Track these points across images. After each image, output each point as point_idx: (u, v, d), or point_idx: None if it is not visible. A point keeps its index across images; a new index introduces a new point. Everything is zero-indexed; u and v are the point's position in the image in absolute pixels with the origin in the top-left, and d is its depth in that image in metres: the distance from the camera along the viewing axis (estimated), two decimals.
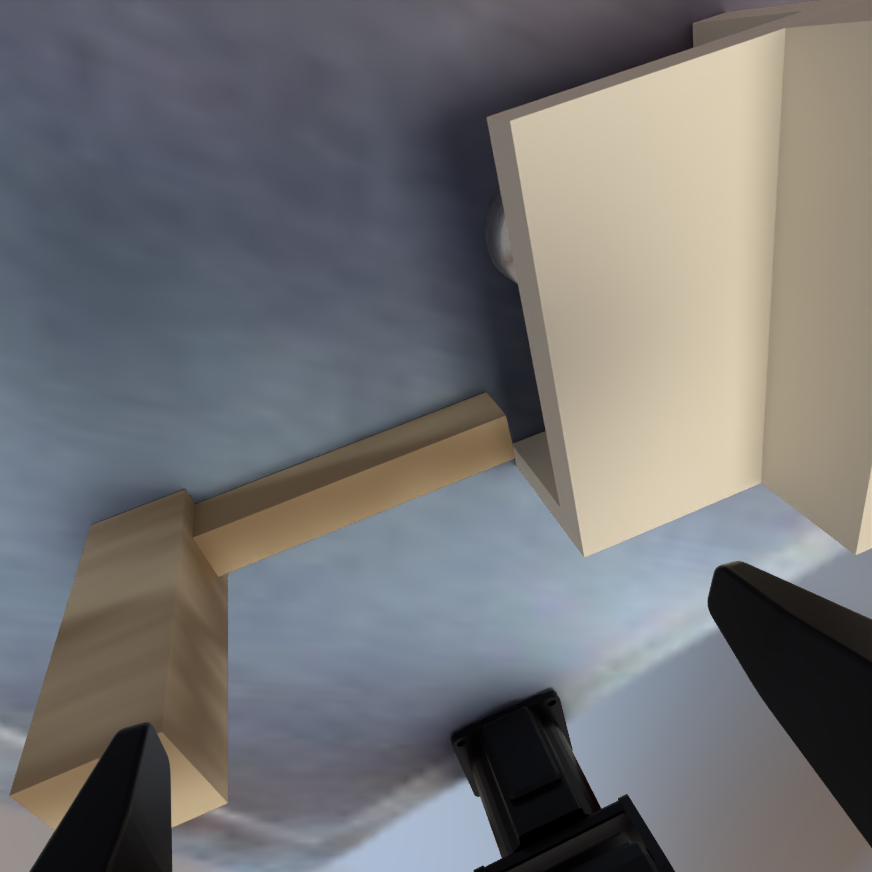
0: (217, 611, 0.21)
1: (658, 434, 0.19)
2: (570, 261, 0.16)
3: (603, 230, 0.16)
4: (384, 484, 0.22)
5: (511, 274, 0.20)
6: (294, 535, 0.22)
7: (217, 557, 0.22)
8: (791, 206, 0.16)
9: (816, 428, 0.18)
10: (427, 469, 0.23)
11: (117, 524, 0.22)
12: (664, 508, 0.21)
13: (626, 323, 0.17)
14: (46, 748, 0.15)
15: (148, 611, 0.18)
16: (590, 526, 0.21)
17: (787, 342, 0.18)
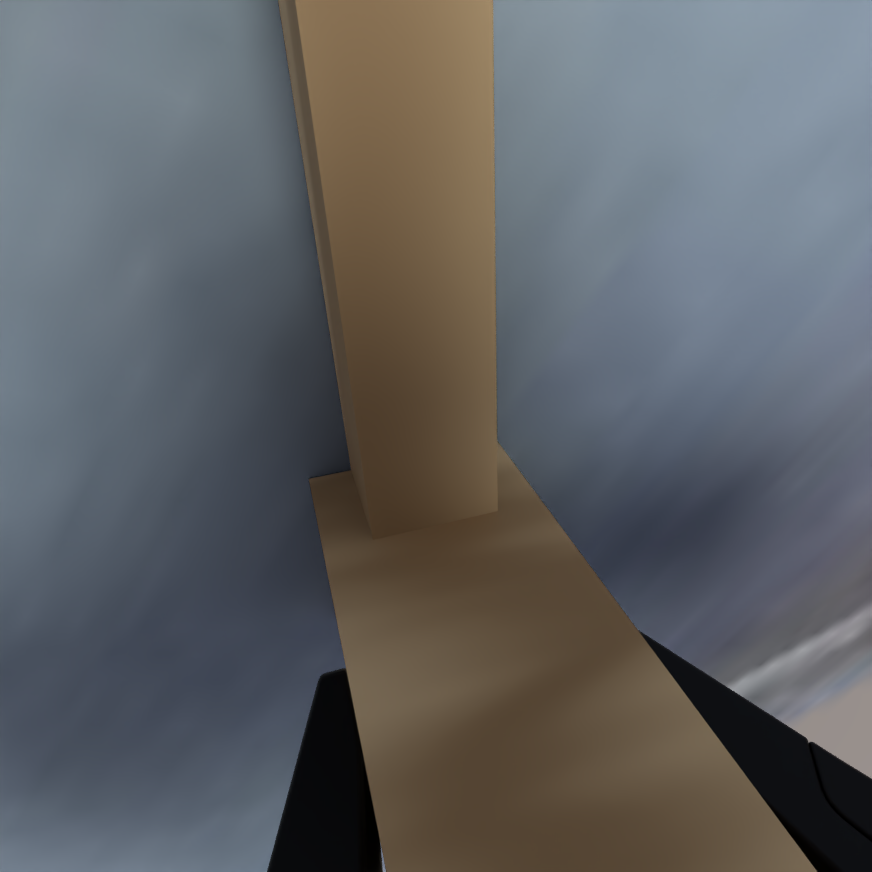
0: (543, 589, 0.08)
1: None
2: None
3: None
4: None
5: None
6: (462, 331, 0.08)
7: (446, 505, 0.09)
8: None
9: None
10: None
11: None
12: None
13: None
14: None
15: None
16: None
17: None
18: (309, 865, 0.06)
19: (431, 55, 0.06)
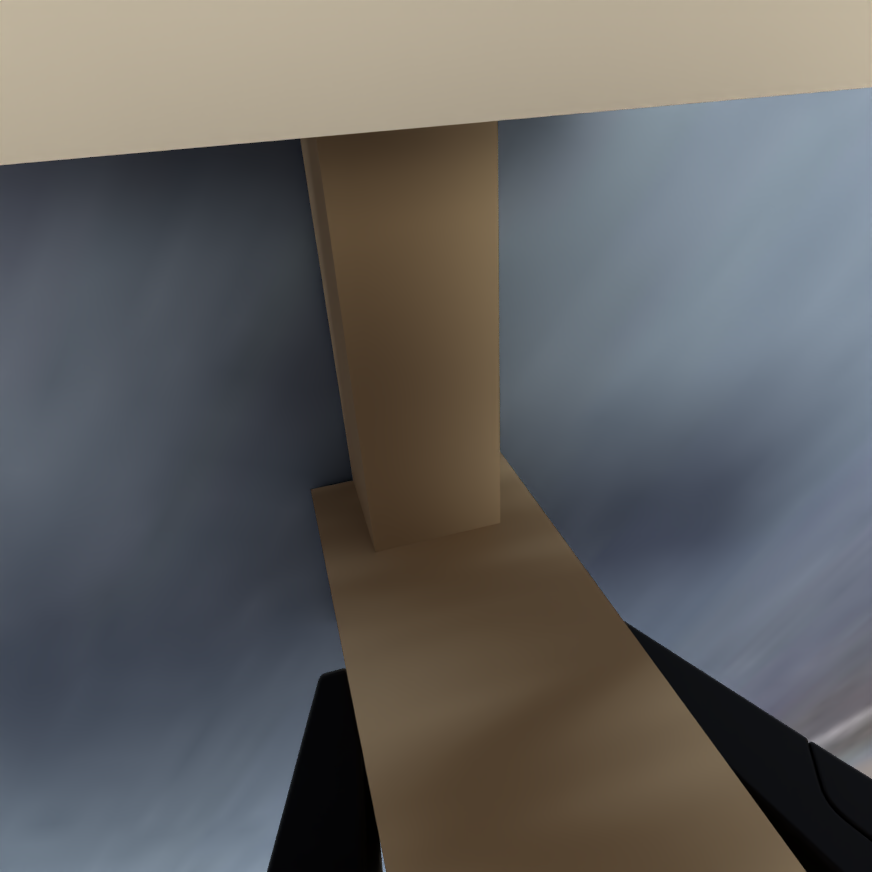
0: (546, 603, 0.08)
1: None
2: None
3: None
4: None
5: None
6: (465, 344, 0.08)
7: (448, 517, 0.09)
8: None
9: None
10: None
11: None
12: None
13: None
14: None
15: None
16: None
17: None
18: (309, 865, 0.06)
19: None
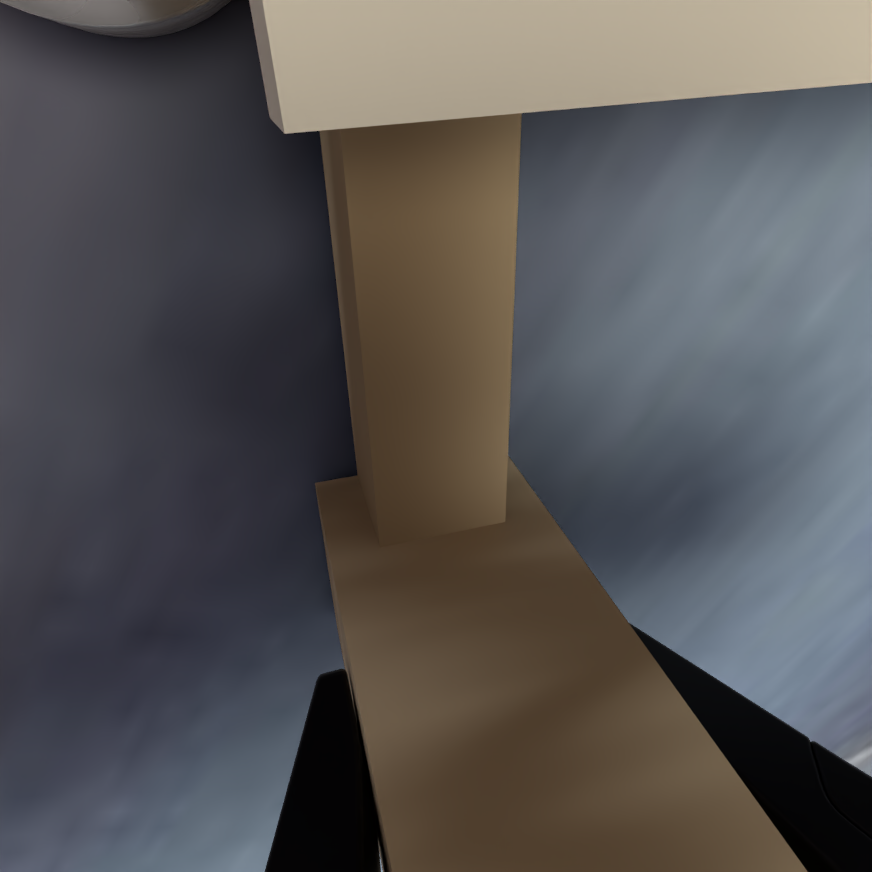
0: (551, 603, 0.08)
1: None
2: None
3: None
4: None
5: (189, 5, 0.06)
6: (478, 342, 0.08)
7: (454, 515, 0.09)
8: None
9: None
10: None
11: (335, 608, 0.11)
12: None
13: None
14: None
15: (385, 853, 0.06)
16: None
17: None
18: (306, 866, 0.06)
19: None
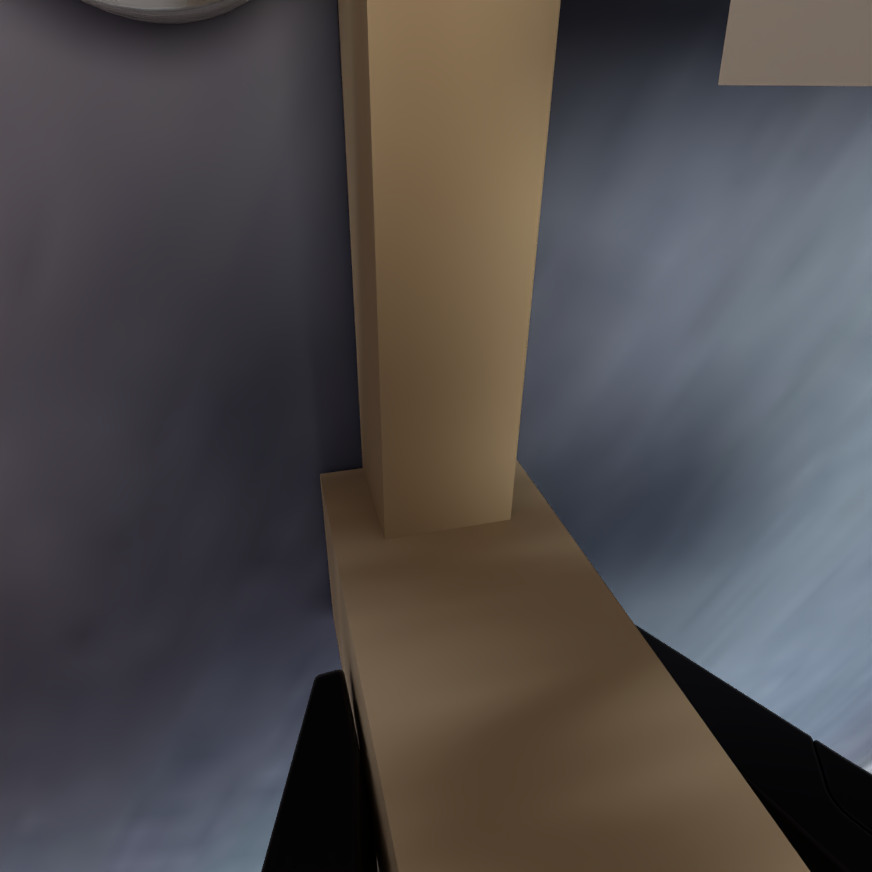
0: (556, 600, 0.08)
1: None
2: None
3: None
4: None
5: None
6: (494, 337, 0.08)
7: (460, 510, 0.09)
8: None
9: None
10: None
11: (334, 601, 0.11)
12: None
13: None
14: None
15: (387, 843, 0.06)
16: None
17: None
18: (302, 867, 0.06)
19: (494, 60, 0.06)
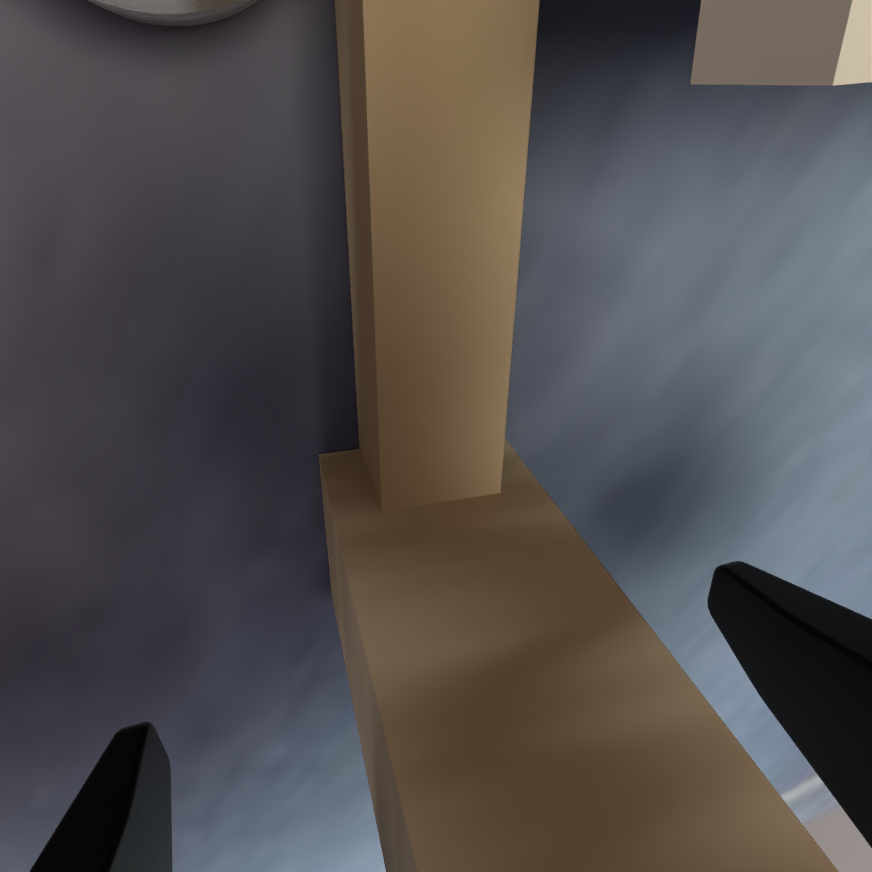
0: (543, 563, 0.09)
1: None
2: None
3: None
4: None
5: None
6: (483, 315, 0.09)
7: (453, 483, 0.10)
8: None
9: None
10: None
11: (332, 578, 0.12)
12: None
13: None
14: None
15: (386, 777, 0.07)
16: None
17: None
18: None
19: (479, 56, 0.07)
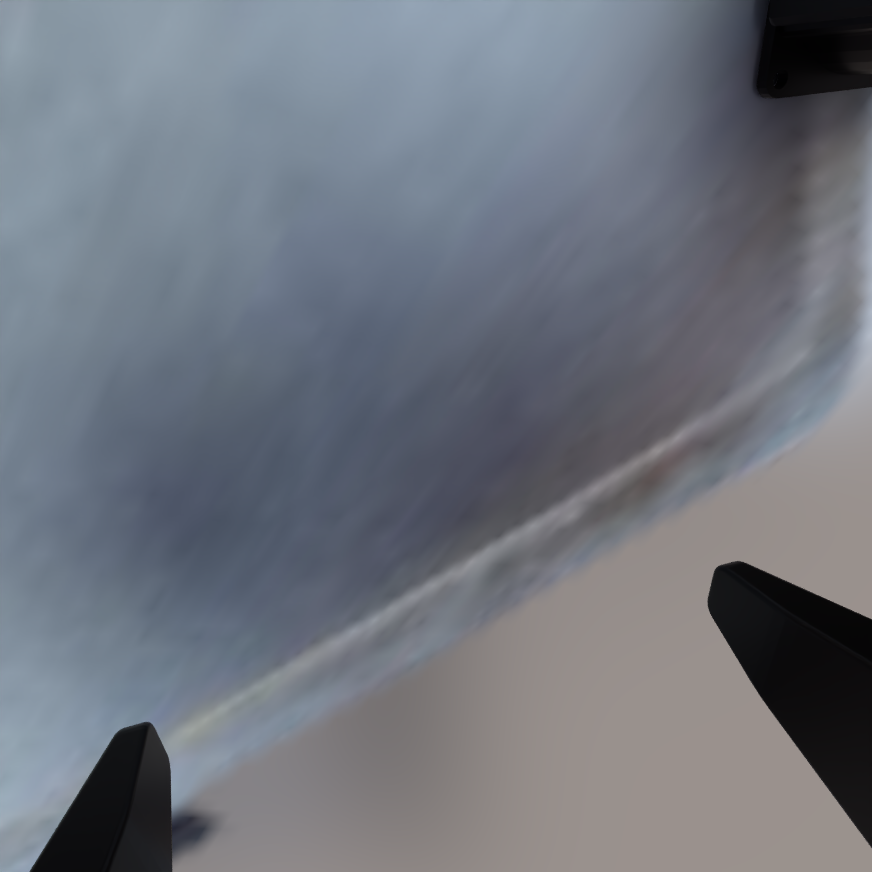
0: None
1: None
2: None
3: None
4: None
5: None
6: None
7: None
8: None
9: None
10: None
11: None
12: None
13: None
14: None
15: None
16: None
17: None
18: None
19: None
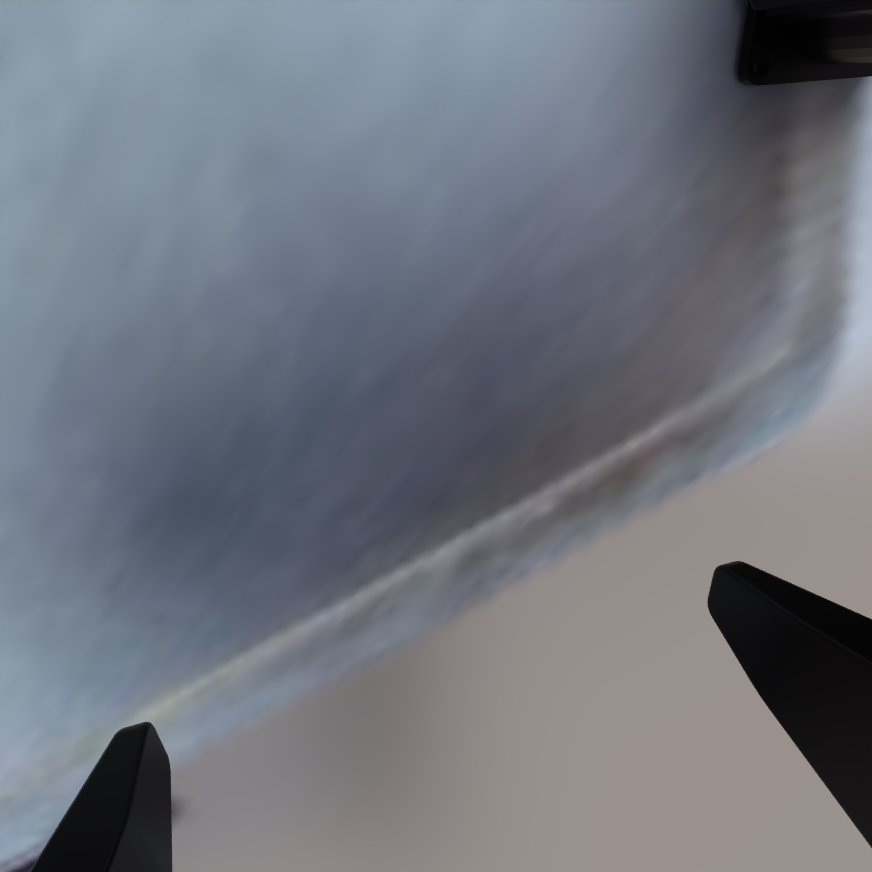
0: None
1: None
2: None
3: None
4: None
5: None
6: None
7: None
8: None
9: None
10: None
11: None
12: None
13: None
14: None
15: None
16: None
17: None
18: None
19: None
